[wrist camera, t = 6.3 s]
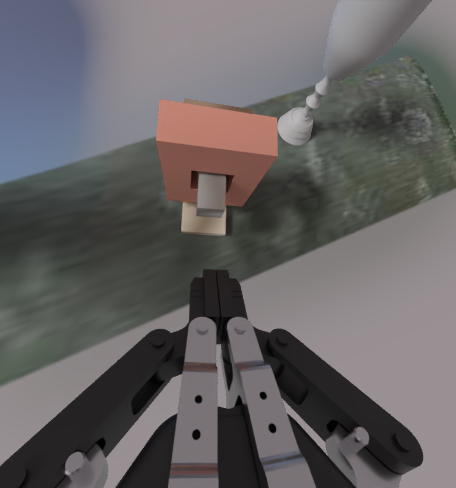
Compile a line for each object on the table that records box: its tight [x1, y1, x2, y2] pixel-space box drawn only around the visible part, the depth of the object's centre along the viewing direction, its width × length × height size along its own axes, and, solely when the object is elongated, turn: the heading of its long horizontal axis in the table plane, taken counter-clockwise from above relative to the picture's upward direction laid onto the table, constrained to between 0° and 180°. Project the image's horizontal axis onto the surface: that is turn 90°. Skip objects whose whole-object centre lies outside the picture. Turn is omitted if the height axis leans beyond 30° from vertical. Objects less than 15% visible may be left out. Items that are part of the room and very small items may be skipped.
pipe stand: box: [181, 99, 253, 236], centre depth 22 cm, size 5×7×12 cm
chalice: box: [277, 0, 432, 145], centre depth 24 cm, size 7×7×18 cm
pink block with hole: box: [156, 99, 278, 207], centre depth 20 cm, size 8×3×10 cm, turn 89°
